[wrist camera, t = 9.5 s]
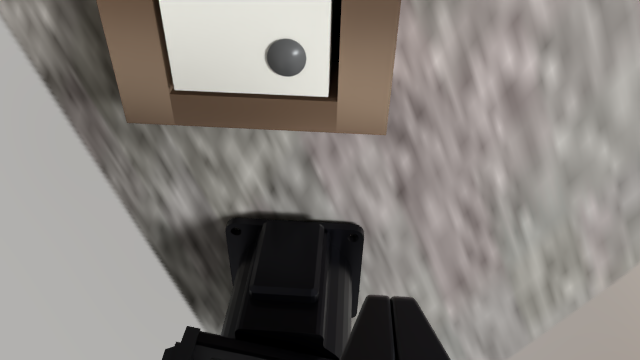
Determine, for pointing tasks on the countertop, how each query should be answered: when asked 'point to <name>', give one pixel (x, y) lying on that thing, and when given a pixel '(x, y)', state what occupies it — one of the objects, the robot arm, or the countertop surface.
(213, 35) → the two dot button
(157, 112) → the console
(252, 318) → the robot arm
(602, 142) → the countertop surface
